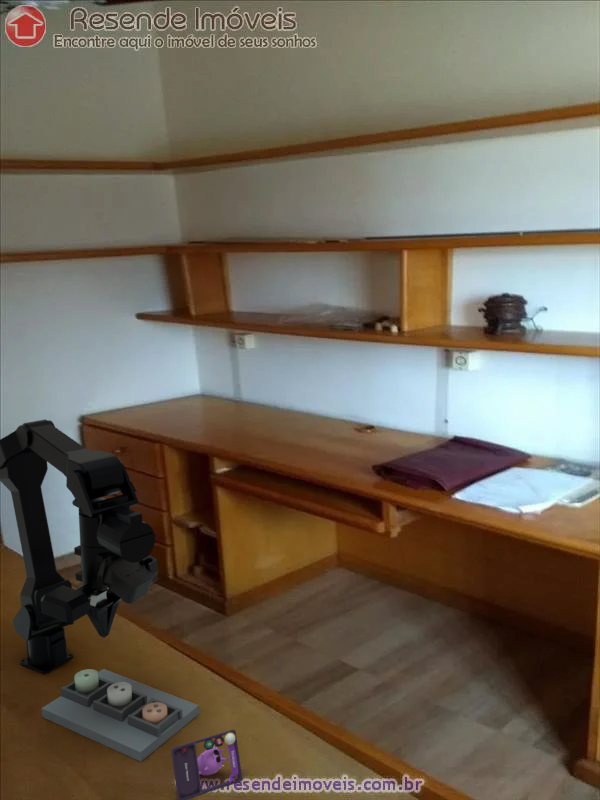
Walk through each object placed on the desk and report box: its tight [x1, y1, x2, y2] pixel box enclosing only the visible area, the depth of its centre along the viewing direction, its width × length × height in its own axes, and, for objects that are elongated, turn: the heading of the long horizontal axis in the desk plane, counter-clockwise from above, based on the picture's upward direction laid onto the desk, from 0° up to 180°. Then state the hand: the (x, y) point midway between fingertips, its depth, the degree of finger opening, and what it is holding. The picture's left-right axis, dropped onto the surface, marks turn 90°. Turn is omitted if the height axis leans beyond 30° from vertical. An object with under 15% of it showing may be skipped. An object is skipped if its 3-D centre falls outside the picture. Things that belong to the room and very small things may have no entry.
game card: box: [170, 729, 243, 800], centre depth 107 cm, size 7×5×9 cm
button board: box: [41, 668, 200, 762], centre depth 121 cm, size 20×13×3 cm, turn 59°
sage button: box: [74, 668, 99, 692], centre depth 124 cm, size 4×4×2 cm
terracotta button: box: [142, 702, 167, 725], centre depth 117 cm, size 4×4×2 cm
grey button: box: [107, 682, 132, 706], centre depth 120 cm, size 4×4×2 cm
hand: (104, 636), depth 120 cm, fingers closed
